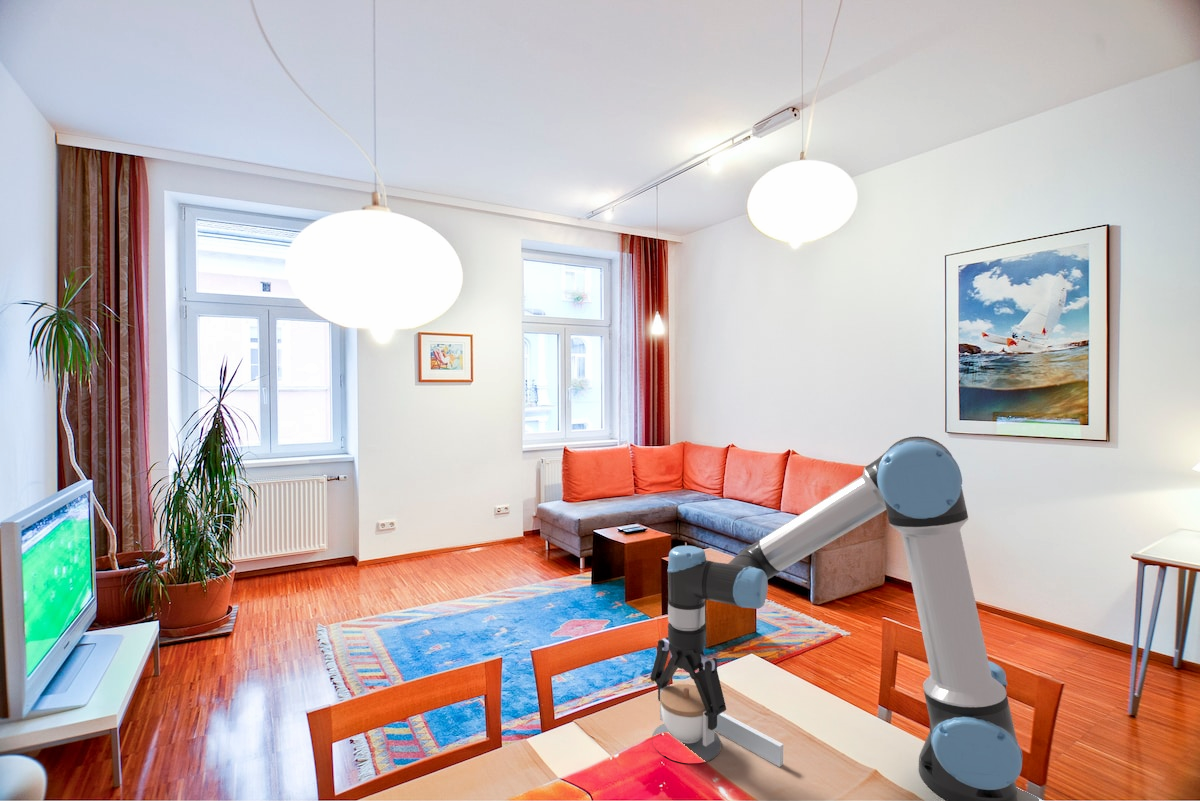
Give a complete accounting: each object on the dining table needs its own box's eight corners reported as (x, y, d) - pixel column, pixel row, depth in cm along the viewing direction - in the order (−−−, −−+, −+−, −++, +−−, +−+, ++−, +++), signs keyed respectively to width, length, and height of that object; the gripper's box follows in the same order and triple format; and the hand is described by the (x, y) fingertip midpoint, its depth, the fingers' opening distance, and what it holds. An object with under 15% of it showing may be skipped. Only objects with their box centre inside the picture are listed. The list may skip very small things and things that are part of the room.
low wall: (783, 764, 110) (783, 744, 110) (779, 767, 109) (779, 746, 109) (693, 715, 126) (694, 697, 126) (690, 717, 125) (690, 699, 125)
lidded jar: (710, 720, 122) (710, 677, 121) (715, 752, 111) (715, 705, 111) (660, 718, 123) (660, 674, 122) (660, 749, 112) (660, 702, 112)
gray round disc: (734, 743, 116) (734, 742, 116) (690, 774, 107) (690, 772, 107) (682, 714, 127) (682, 712, 127) (637, 739, 117) (637, 738, 117)
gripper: (745, 636, 110) (744, 749, 110) (657, 603, 127) (657, 700, 128) (721, 648, 105) (721, 766, 105) (633, 611, 122) (633, 712, 123)
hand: (686, 729), depth 117 cm, fingers closed on lidded jar, 11 cm apart
